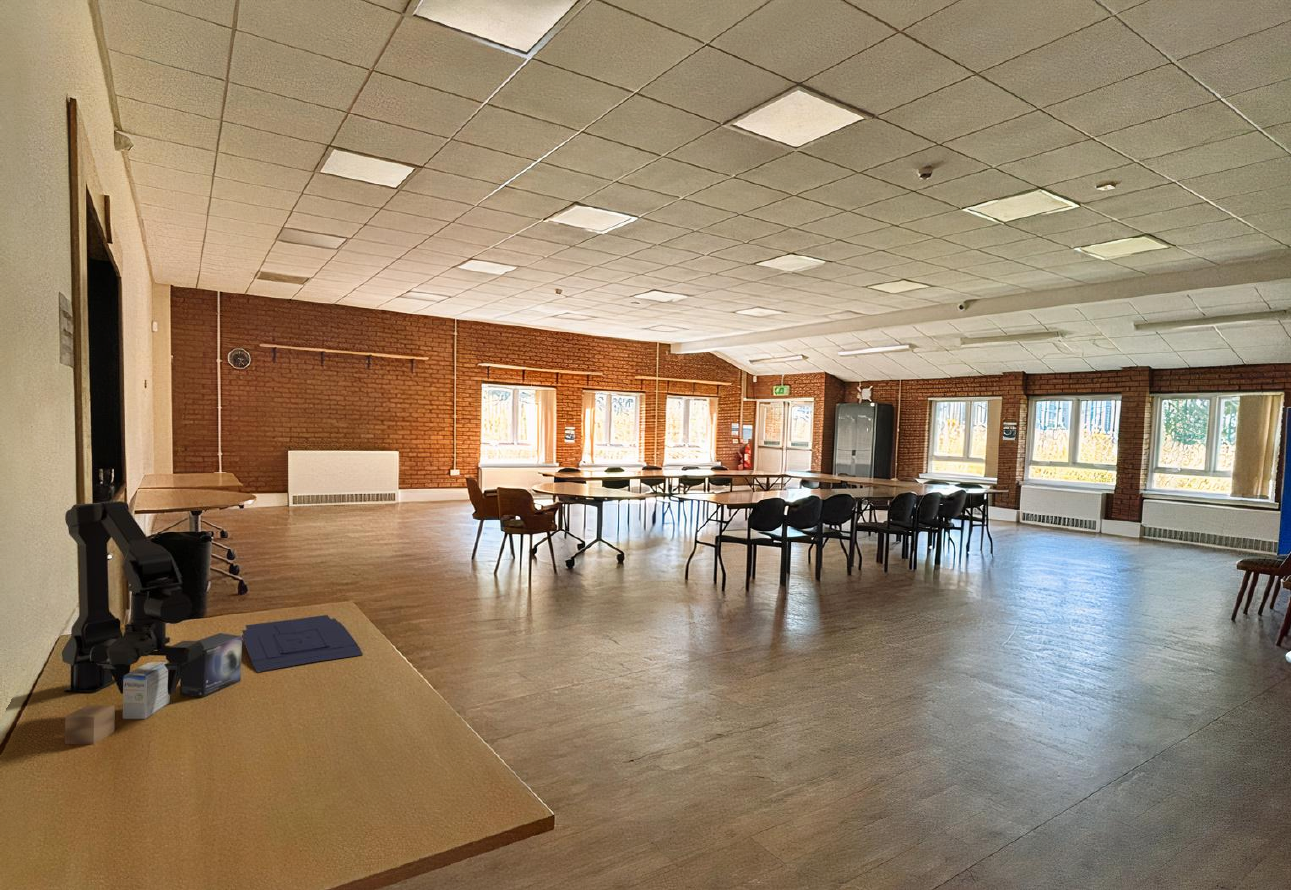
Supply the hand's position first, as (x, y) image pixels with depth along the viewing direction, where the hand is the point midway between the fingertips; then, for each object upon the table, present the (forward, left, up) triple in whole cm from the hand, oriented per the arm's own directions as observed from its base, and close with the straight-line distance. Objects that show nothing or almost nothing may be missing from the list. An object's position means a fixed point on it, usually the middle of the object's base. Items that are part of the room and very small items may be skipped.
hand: (147, 693), depth 138 cm
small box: (+5, +13, -4) cm, 14 cm away
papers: (+11, +41, -4) cm, 43 cm away
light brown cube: (-2, -12, -4) cm, 13 cm away
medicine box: (0, 0, -4) cm, 4 cm away
